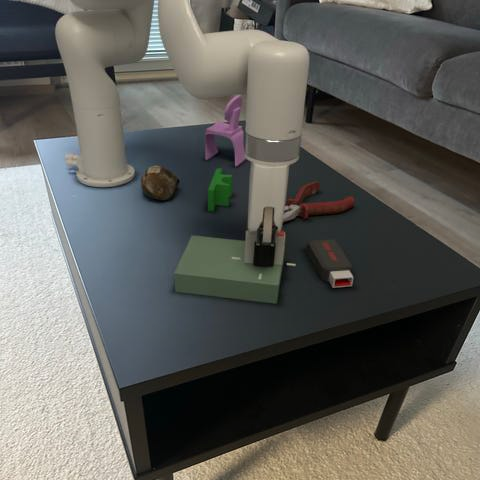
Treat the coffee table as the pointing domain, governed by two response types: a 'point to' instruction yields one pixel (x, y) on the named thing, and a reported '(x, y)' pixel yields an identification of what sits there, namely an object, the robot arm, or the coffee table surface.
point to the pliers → (313, 204)
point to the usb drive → (330, 262)
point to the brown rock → (159, 183)
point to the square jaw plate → (279, 247)
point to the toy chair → (227, 131)
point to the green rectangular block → (225, 271)
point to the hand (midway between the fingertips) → (263, 260)
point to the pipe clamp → (219, 190)
